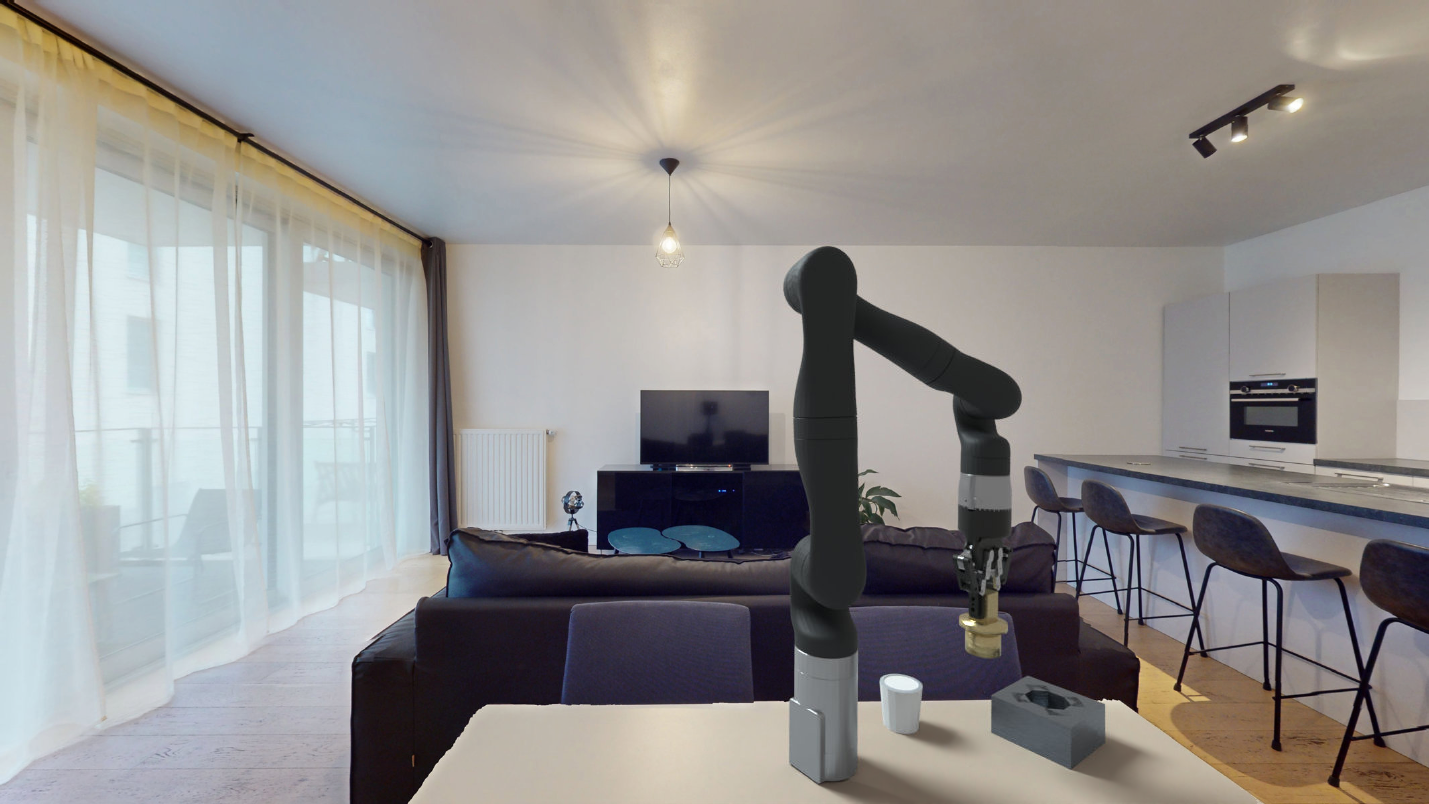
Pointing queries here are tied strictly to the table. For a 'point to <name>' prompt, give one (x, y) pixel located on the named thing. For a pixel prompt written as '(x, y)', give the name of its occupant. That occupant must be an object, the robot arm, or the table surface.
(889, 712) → the shot glass
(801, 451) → the robot arm
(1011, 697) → the housing
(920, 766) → the table surface
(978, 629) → the end cover
